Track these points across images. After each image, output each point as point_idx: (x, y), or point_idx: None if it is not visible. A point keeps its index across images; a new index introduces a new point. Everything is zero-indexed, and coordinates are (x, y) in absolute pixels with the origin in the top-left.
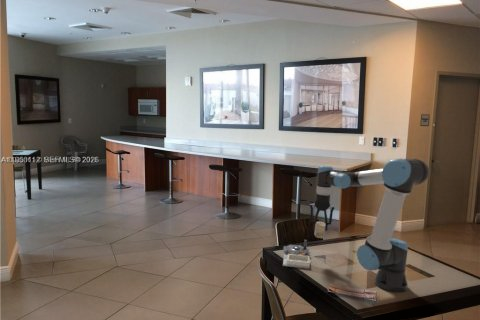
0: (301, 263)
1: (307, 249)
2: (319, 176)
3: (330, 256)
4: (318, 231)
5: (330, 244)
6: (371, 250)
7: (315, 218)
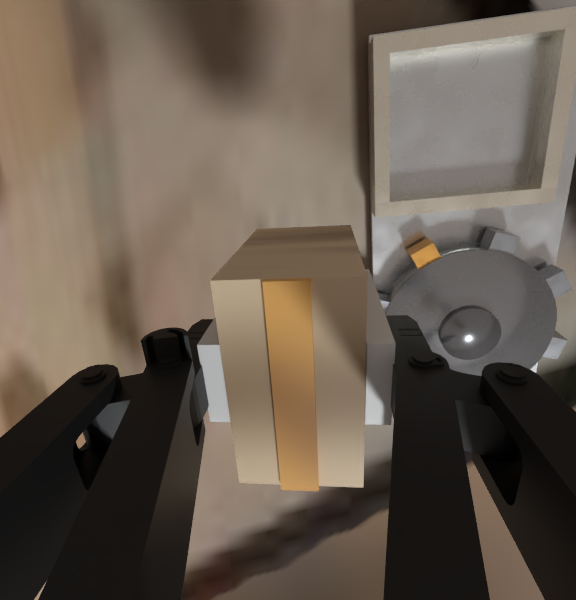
0: (444, 28)
1: None
2: None
3: None
4: (321, 245)
5: (251, 520)
6: None
7: (436, 428)
